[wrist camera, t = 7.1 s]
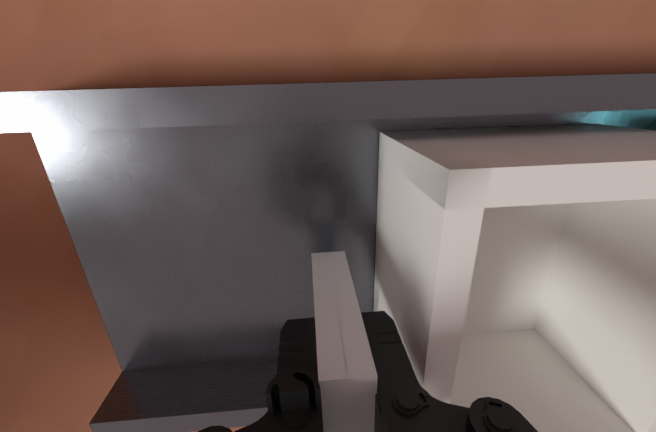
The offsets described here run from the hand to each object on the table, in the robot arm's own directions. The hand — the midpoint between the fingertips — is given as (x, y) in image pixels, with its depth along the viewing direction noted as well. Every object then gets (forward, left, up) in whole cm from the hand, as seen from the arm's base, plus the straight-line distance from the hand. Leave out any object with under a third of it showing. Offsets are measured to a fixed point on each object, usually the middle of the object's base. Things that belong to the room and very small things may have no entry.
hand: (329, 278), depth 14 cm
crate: (-7, -3, -2) cm, 8 cm away
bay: (-3, -2, -3) cm, 4 cm away
